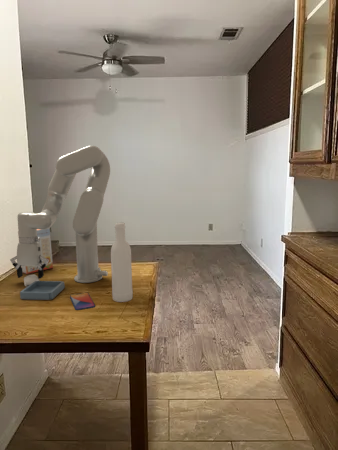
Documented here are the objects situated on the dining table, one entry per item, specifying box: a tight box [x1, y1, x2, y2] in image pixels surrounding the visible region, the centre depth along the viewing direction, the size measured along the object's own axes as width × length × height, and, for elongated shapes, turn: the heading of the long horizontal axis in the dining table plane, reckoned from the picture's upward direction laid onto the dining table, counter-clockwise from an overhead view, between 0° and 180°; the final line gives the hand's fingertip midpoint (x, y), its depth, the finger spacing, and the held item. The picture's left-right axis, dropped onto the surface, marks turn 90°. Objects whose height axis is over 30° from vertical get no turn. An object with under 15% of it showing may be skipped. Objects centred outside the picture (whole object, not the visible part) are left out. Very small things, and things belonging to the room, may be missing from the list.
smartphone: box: [69, 292, 96, 311], centre depth 137 cm, size 7×15×1 cm, turn 24°
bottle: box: [110, 221, 134, 303], centre depth 137 cm, size 8×8×30 cm
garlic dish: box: [19, 280, 66, 301], centre depth 146 cm, size 13×14×3 cm
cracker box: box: [17, 227, 54, 275], centre depth 176 cm, size 14×6×21 cm, turn 136°
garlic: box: [23, 274, 41, 287], centre depth 158 cm, size 8×7×4 cm
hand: (30, 277), depth 159 cm, fingers open, 9 cm apart
